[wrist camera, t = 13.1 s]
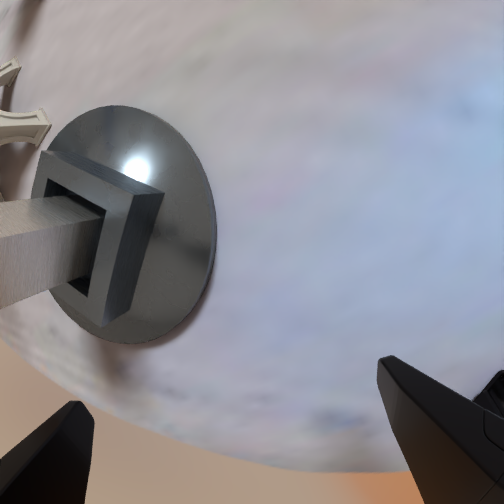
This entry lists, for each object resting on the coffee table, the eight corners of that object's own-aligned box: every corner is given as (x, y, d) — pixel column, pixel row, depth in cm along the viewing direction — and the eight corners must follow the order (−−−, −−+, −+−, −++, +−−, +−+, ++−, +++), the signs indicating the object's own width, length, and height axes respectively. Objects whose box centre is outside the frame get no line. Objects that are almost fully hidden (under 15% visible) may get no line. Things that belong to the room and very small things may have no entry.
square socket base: (260, 152, 19) (239, 142, 14) (171, 377, 24) (143, 409, 19) (68, 90, 21) (30, 81, 17) (27, 274, 26) (-6, 285, 22)
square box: (125, 213, 21) (-30, 244, 9) (111, 266, 22) (-28, 322, 10) (85, 192, 21) (-58, 209, 10) (74, 242, 22) (-57, 280, 11)
